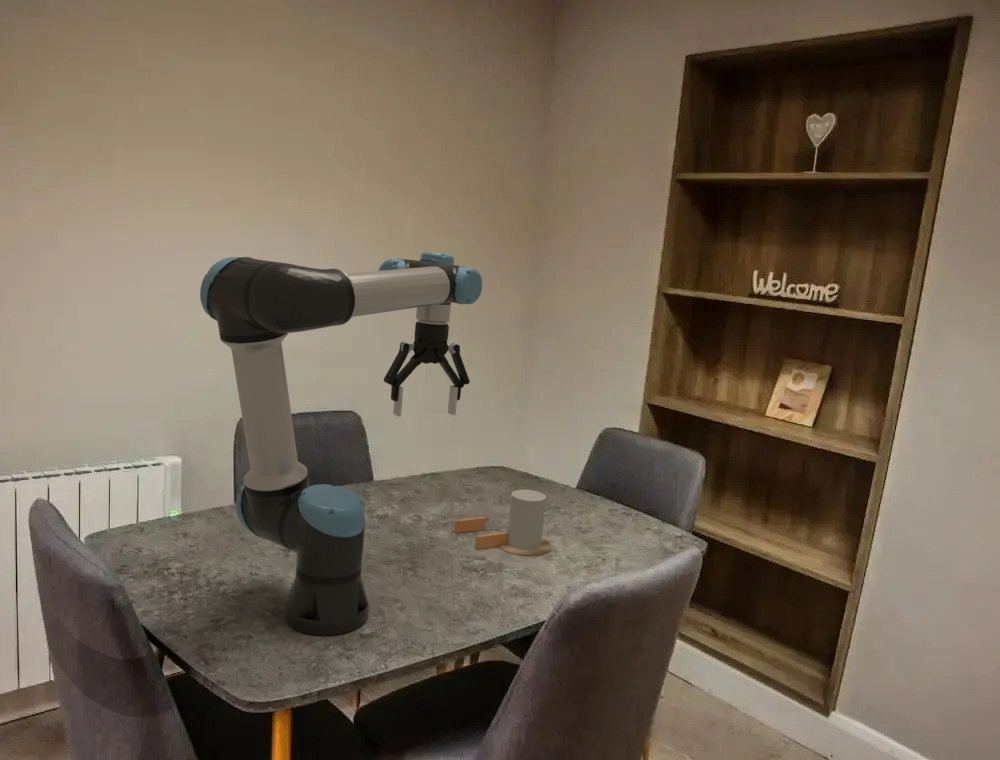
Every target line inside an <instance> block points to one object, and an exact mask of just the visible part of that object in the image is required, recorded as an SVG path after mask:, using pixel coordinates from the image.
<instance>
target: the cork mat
mask: <svg viewBox="0 0 1000 760" xmlns="http://www.w3.org/2000/svg"><path fill="white" fill-rule="evenodd" d="M498 548H499V549H500V550H501V551H504V552H506V553H509V554H512V555H515V556H522V557H538V556H542V555H546V554H548V553H549V552H551V549H552V545H551V543H550V542H549V541H548V540H547V539H545V538H543V537H542V541H541V547H540V548H538V549H535V550H520V549H516V548H513V547H511V546H509V545H508V543H507V544H501V545H498Z"/></svg>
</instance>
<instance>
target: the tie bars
mask: <svg viewBox="0 0 1000 760" xmlns="http://www.w3.org/2000/svg"><path fill="white" fill-rule="evenodd" d="M486 521H487V518H486V517H485V516H478V517H469V518H460V519H455V521H454V533H456V534H461V533H468V532H475V531H477V532H478V531H482V530H483V531H484V530H486V523H487V522H486ZM507 537H508V531H501V532H493V533H487V534H486V533H485V534H480V535H476V536H475V546H474V548H475V550H483V549H489V548H497V547H498V545H501V544H507ZM498 548H499V547H498Z"/></svg>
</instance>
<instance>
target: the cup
mask: <svg viewBox="0 0 1000 760" xmlns="http://www.w3.org/2000/svg"><path fill="white" fill-rule="evenodd" d="M546 500H547V497H546V494H544V493H542V492H540V491H536V490H531V489H517V490H514V491H512V492H511V497H510V507H509V519H508V528H507V533H508V537H507V543H508V545H509V546H511V547H513V548H516V549H520V550H535V549H538V548H540V547H541V541H542V538H543V530H544V523H545V522H544V521H545V520H544V519H545V511H546Z"/></svg>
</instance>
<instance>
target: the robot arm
mask: <svg viewBox="0 0 1000 760" xmlns="http://www.w3.org/2000/svg"><path fill="white" fill-rule="evenodd" d="M199 291H200V292H199V297H200V302H201V306H202V308H203V311H204V312H205V313H206V314H207V315H208V316H209V317H210V318H212V319H213V320H214V321H216V323H217V327H218V332H219V339H220V342H222V343H223V344H225V345H226V346H227V347H229V348H230V350H231V356H232V362H233V367H234V374H235V381H236V386H237V393H238V400H239V408H240V413H241V419H242V423H243V424H242V425H243V430H244V431H243V432H244V436H245V437H244V438H245V443H246V444H245V445H246V449H247V457H248V462H249V470H248V471H247V473H246V474H245V475H244V477H243V483H242V485H241V486H240V488H239V490H240V493H239V494H237V495H236V500H235V501H236V502H235V510H236V516H237V518H238V519H239V522H240V523H241V525H242V526H243V527H244V528H245V529H246V530H247V531H249V532H251V533H252V534H253V535H254V536H256V537H259V538H261V539H263V540H267V541H269V542H272V543H274V544H276V545H279V546H280V547H283V548H286V549H288V550H291V551H292V552H294V553H296V563H295V565H296V568H295V577H294V579H293V582H292V585H291V586H290V590H289V593H288V595H287V597H286V599H285V603H284V610H283V612H284V613H283V619H284V621H285V623H286V624H287V625H288V626H289V627H291V629H294V630H295V631H297V632H300V633H303V634H308V635H314V636H331V635H332V636H334V635H335V636H336V635H340V634H345V633H349V632H352V631H354V630H356V629H358V628H360V627H361V626H363V625H364V624H365V623H366V622H367V619H368V618H369V606H370V605H369V599H368V596H367V593H366V589H365V586H364V582H363V579H362V566H363V565H362V564H363V553H364V552H363V551H364V550H363V549H364V541H365V530H366V529H365V526H366V517H365V511H366V509H365V503H364V501H363V499H362V497H361V496H360V495H358V494H357V493H356V492H355V491H353V490H351V489H349V488H347V487H344V486H340V485H336V486H334V485H332V484H325V483H324V484H321V483H320V484H313V485H310V479H309V473H308V472H309V471H308V468H307V467H306V465H304V464H303V463H301V462H299V461H298V452H297V446H296V445H297V444H296V437H295V432H294V430H295V429H294V424H293V418H292V417H293V416H292V409H291V401H290V396H289V394H290V392H289V387H288V379H287V372H286V366H285V365H286V364H285V359H284V352H283V351H284V350H283V344H282V343H283V341H284V340H285V338H286V337H288V335H289V334H290V333H291V334H292V333H293V334H294V333H300V332H307V331H314V330H317V329H323V328H329V327H334V326H335V327H336V326H342V325H346V324H347V323H348V322H350V320H352V318H355V317H360V316H361V317H362V316H368V315H375V314H383V313H388V312H395V311H402V310H409V309H413V308H414V309H416V313H415V314H416V315H415V318H416V320H417V321H416V322H415V325H414V341H413V343H408V342H405V341H401V342H400V345H399V350H398V353H397V355H395V358H394V360H393V362H392V363H391V366H390V367H389V369H388V371H387V372H386V374H385V375H384V377H383V381H384V383H386V384H388V385H390V386H391V390H390V391H391V392H390V400H391V401H393V410H392V411H393V412H392V413H393V415H395V416H397V417H401V416H402V408H403V407H402V405H403V395H404V394H403V393H404V387H402V386H401V385H403V383H404V382H405V381H406V380H407V378H408V377H409V376H410V375H411V374H412V373H413V372H414V370H416V368H417V367H419V366H420V365H421V364H422V363H423V364H425V365H427V364H433V365H435V364H437V365H438V364H439V365H440V366H441V368H442V369H443V371H444V372H445V374H446V376H447V377H448V378H449V379H450V381H451V383H452V384H453V385H449V392H448V393H449V394H448V395H449V396H448V402H447V403H448V405H447V413H448V414H450V415H451V416H456V412H457V403H458V401H460V400H461V393H462V389H463V388H464V386H465V385H469V384H470V378H469V376H468V373H467V370H466V367H465V364H464V362H463V358H462V356H461V346H460V345H459V344H457V343H454V342H453V343H451V344H448V339H449V331H450V326H449V324H448V323H449V322H450V319H451V317H450V316H451V306H452V303H453V304H458V305H473V304H474V303H476V302H477V301H478V300H479V298H480V296H481V293H482V291H483V278H482V275H481V273H480V272H479V271H478V269H477V268H475V267H471V266H467V265H465V264H463V265H458V264H456V265H455V257H454V256H453V255H452V254H451V253H444V252H433V251H423V252H422V253H421V254H420V258H419V259H418V260H416V259H407V258H406V259H404V258H398V257H396V258H389V259H386V260H385V261H383V262H382V263H381V264H380V266H379V269H378V270H374V271H362V272H350V273H346V272H345V271H343V270H341V269H339V268H313V267H307V266H301V265H296V264H292V263H287V262H277V261H273V260H272V261H271V260H264V259H257V258H253V257H250V256H243V257H242V256H238V257H236V256H230V257H226V258H222V259H221V260H219V261H216V263H214V264H213V265H212V266H211V267H210V268H209V269H208V271H207V273H206V274H205V275H204V277H203V279H202V282H201V285H200V290H199ZM411 351H413V353H414V354H413V355H412V356H411V357H410V358H409V361H408V362H407V363H406V364H405V365H404V362H405V361H406V359H407V357H408V355H409V354H410V353H411ZM447 353H449V354H450V355H451V358H452V361H453V365H454V366H455V369H456V372H457V373H456V372H455V370H454V369H453V368H452V365H451V364H450V363H449V361H448V359H447V358H446V356H445V355H446V354H447ZM403 365H404V366H403ZM402 366H403V368H402Z"/></svg>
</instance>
